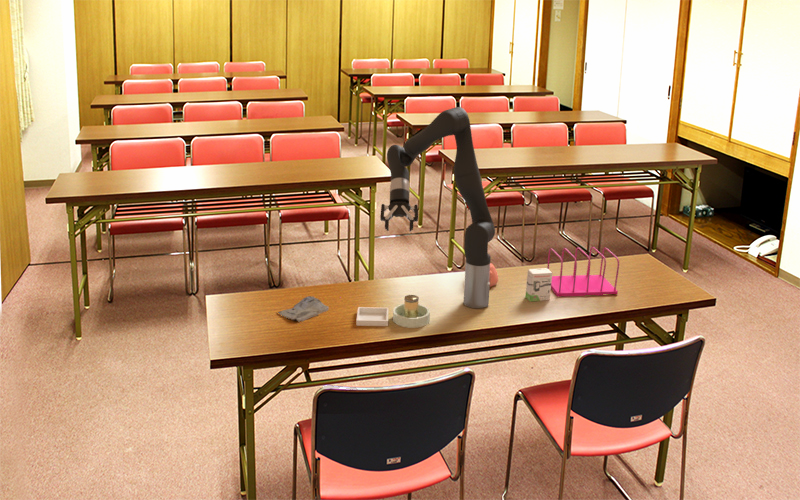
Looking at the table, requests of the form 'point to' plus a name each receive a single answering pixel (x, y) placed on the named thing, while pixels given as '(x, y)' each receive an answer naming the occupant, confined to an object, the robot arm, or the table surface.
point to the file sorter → (582, 279)
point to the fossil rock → (305, 309)
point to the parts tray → (372, 316)
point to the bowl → (411, 322)
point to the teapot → (493, 275)
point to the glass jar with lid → (411, 306)
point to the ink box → (538, 284)
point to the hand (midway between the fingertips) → (399, 230)
